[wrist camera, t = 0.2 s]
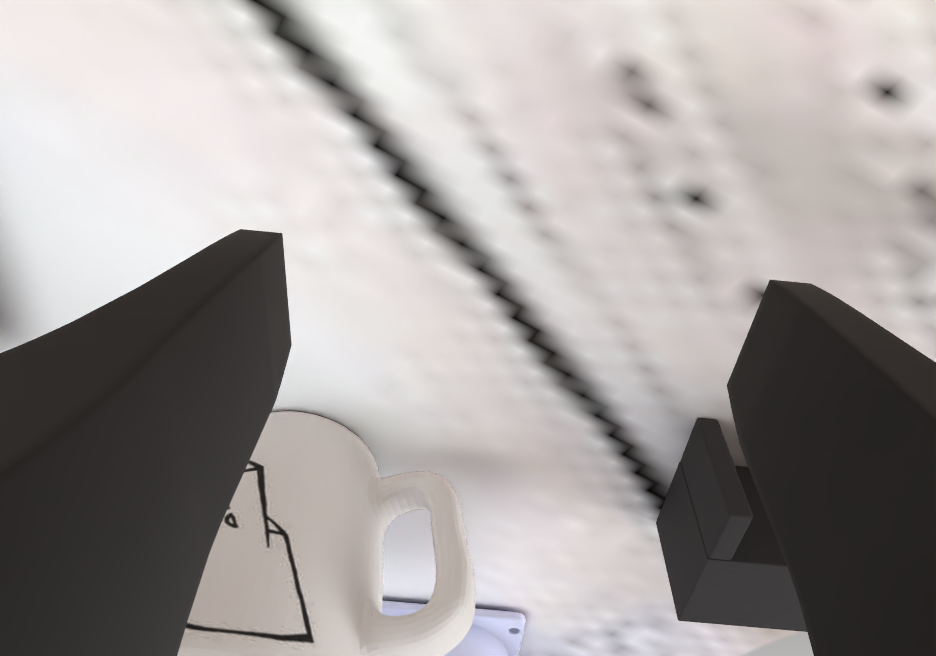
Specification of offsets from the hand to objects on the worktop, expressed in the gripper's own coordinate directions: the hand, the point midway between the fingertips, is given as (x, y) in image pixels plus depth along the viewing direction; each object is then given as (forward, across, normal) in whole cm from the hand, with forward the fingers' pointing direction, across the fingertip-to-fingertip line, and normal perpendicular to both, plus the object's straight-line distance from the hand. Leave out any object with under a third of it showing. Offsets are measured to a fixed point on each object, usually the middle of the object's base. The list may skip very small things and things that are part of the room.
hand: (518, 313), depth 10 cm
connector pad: (+10, -11, +14) cm, 20 cm away
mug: (+10, +5, +15) cm, 19 cm away
